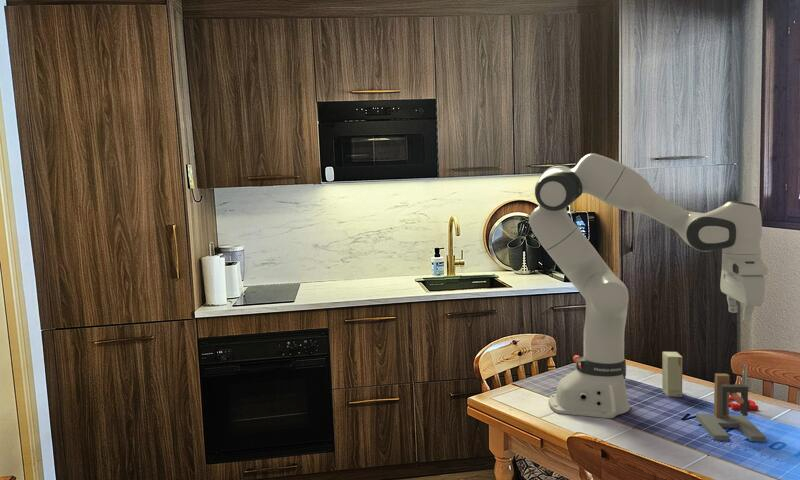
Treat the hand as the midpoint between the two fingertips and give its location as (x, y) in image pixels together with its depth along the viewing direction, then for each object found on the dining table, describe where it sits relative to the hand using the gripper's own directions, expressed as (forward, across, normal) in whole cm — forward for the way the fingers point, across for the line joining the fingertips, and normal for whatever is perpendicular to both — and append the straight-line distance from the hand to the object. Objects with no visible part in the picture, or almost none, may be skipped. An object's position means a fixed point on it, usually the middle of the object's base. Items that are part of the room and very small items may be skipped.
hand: (739, 316), depth 159 cm
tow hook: (+29, -14, +5) cm, 33 cm away
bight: (+24, +7, -3) cm, 25 cm away
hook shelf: (+29, +5, -3) cm, 29 cm away
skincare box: (+29, -21, -11) cm, 38 cm away
